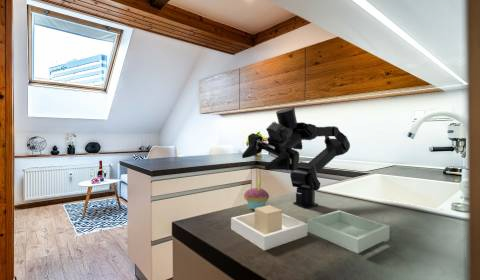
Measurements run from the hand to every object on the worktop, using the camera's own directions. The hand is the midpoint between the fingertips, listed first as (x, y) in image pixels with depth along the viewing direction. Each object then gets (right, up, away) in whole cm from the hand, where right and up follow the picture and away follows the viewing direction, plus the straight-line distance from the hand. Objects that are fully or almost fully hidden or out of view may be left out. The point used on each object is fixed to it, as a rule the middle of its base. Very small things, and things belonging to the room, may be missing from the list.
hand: (253, 162), depth 72 cm
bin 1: (+3, -18, -8) cm, 20 cm away
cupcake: (+2, -17, +12) cm, 21 cm away
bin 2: (+23, -18, -10) cm, 31 cm away
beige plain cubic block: (+3, -17, -8) cm, 20 cm away
